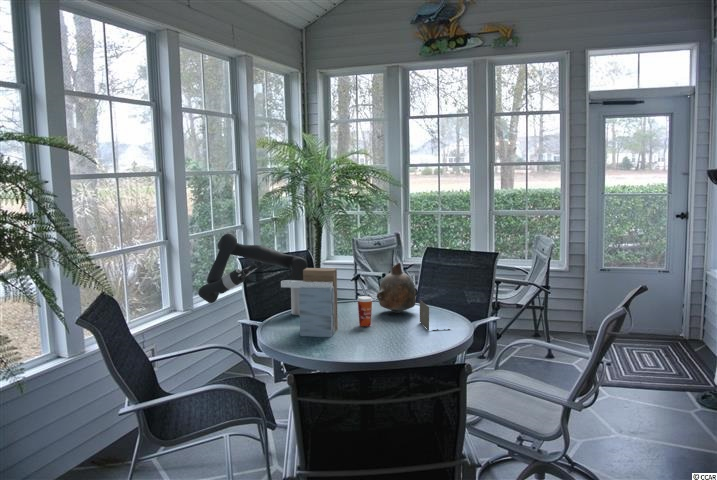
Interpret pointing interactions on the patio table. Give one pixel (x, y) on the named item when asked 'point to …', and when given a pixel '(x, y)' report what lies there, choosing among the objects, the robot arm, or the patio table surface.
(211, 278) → the robot arm
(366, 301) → the coffee cup
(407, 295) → the jug
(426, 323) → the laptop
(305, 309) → the display riser
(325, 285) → the aluminium bar
